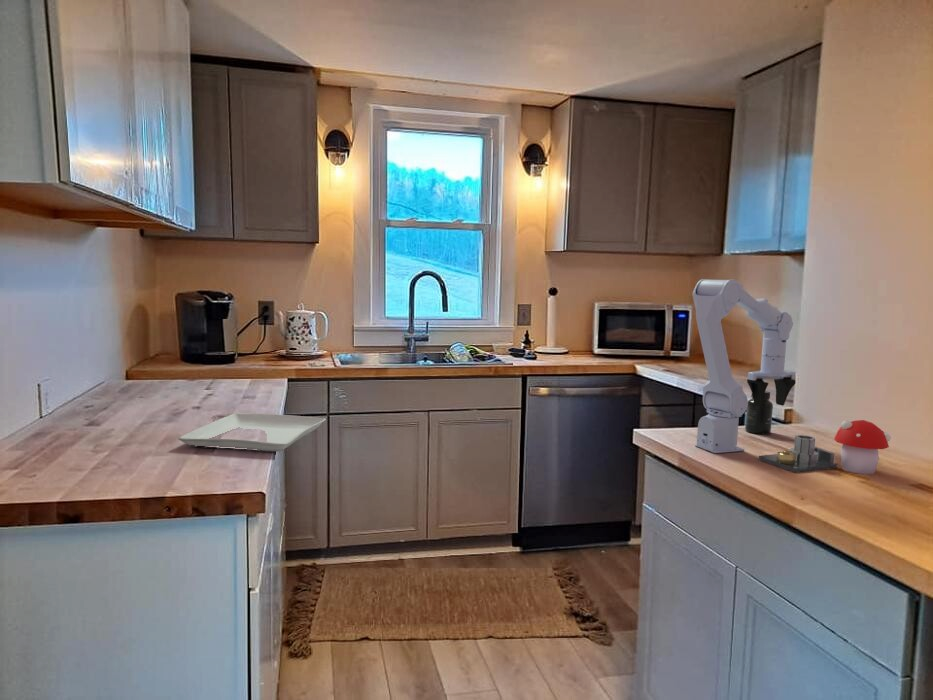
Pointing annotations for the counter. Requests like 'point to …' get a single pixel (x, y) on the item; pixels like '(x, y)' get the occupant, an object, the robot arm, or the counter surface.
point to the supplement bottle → (759, 416)
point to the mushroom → (861, 445)
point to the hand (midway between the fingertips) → (769, 405)
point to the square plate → (275, 426)
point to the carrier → (789, 463)
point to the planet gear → (804, 449)
